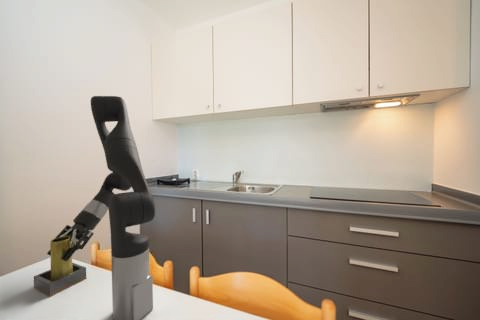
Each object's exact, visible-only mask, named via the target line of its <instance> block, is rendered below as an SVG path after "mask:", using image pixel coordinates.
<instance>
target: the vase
mask: <svg viewBox="0 0 480 320" xmlns="http://www.w3.org/2000/svg"><path fill="white" fill-rule="evenodd" d="M71 243H72V242H71V237H70V236H63V237H61V236H60V237H58V238H56V237H54V238H52V239H51V240H50V249H51V256H50V270H51V282H53V281H55V280H57V279H59V278H61V277H64V276H66V275H68V274H70V273H72V272H73V264H72V263H73V255H72V256H71V257H70V258H69V260H68V261H64V260H61V257H62V256H63V254H64V253H65V252H66V251H67V249H68V248H71V247H70V246H71Z"/></svg>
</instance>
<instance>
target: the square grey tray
mask: <svg viewBox="0 0 480 320" xmlns="http://www.w3.org/2000/svg"><path fill="white" fill-rule="evenodd" d="M72 264H73V272H72V273H70V274H68V275H66V276H64V277H61V278H59V279H57V280H55V281H53V282H51V269H49V270H46V271H43V272H41V273H38V274H36V275H33V289H34V290H36V291H38V292H40V293H42V294H44V295H46V296H48V297H49V298H51V297H53V296H55V295H57V294H59V293H61V292H63V291H65V290H67V289H68V288H69V289H70V288H71V287H73V286H75V285H77V284H78V283H81V282H83V281H85V280H86V279H87V267H86V266H83V265H81V264H77V263H75V262H72Z"/></svg>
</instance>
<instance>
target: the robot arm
mask: <svg viewBox="0 0 480 320" xmlns="http://www.w3.org/2000/svg"><path fill="white" fill-rule="evenodd" d="M90 108H91V113H92V117H93V121H94V124H95V128H96V130H97V134H98V136H99V140H100V142H101V144H102V148H103V151H104V156H105V163H106V166H107V169H108V170H109V171H110V173H109V174H108V175H107V176H106V177H105V179H104V181H103V183H102V185H101V187H100V189H99V192H97V193H96V195H94V197H93V198H92V199H91V200H90V201H89V202H88V203H87V204H86V205H85V206H84V207H83V208H82V210H81V211H80V212H79V213H78V214H77V215H76V216H75V218H74V219H73V221H72V222H73V223H74V224H73V225H72V226H70V225H69V224H67V225H65V226H64V228H63V229H62V230H61V231H60V232H59V233H58V234H57V235H56V236H55V238H58V237H63V236H70V237H71V246H70V247H71V248H68V249H67V251H66V252H65V253H64V254H63V256H62V257H61V260H64V261H68V260H69V258H70V257H71V256H72V257H73V255H74V253H76V251H78V250H83V249H84V248H85V246H86V245H87V244H88V243H89V241H90V240H91V239H92V237H93V236H94V232H93V231H94V229H95V228H96V227H97V226H98V225H99V223H100V222H101V220H102V219H103V218H104V217H105V216H106V214H107V213H108V218H109V229H110V246H111V247H110V248H111V250H110V251H111V258H110V259H111V291H112V292H111V294H112V300H111V301H112V320H142V319H143V318H144V317H145V316H146V315H147V314H148V313H150V312H152V310H153V309H154V291H153V275H152V274H150V273H151V271H150V265H151V264H150V239H149V237H148V236H147V235H145V234H142V233H133V232H128V231H127V230H126V229H127V228H129V227H133V226H139V225H143V224H148V223H150V222H152V221H153V219H154V218H155V215H156V206H155V201H154V197H153V194H152V192H151V189H150V187H149V184H148V181H147V179H146V176H145V173H144V170H143V168H142V164H141V160H140V156H139V152H138V147H137V144H136V142H135V138H134V134H133V132H132V129H131V124H130V118H129V113H128V110H127V109H128V108H127V104H126V102H125V100H124V99H123V98H122V97H121V96H116V95H113V96H112V95H94V96H91V98H90ZM107 122H108V123H109V122H116V125H115V126H114V127H113V128H112V130H111V131H109V130H108V128H107V126H106V123H107ZM115 189H116V190H119V191H127V192H120V193H115V192H113V191H114V190H115ZM130 189H132V190H133V191H128V190H130ZM46 254H47V255H48V256H50V257H51V248H50V249H49V250H48V251H47V252H46Z"/></svg>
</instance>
